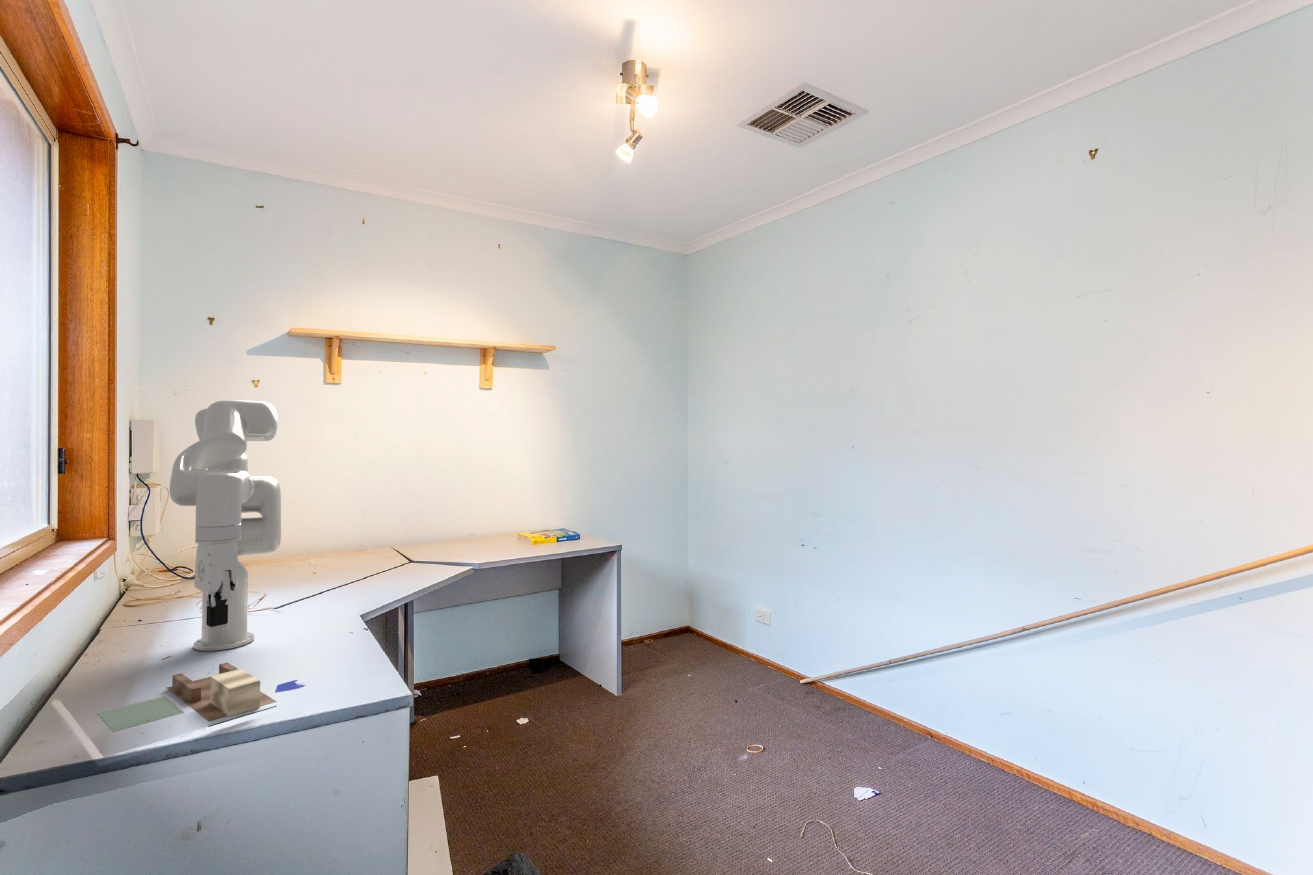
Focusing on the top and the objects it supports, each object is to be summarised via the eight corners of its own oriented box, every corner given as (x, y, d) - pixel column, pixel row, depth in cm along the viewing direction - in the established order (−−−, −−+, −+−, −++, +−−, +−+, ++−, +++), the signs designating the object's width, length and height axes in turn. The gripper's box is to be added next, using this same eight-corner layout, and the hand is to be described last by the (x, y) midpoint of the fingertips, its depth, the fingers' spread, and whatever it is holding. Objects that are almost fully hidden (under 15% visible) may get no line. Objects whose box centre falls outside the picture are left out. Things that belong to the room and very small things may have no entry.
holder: (166, 692, 125) (166, 675, 125) (229, 676, 134) (229, 660, 134) (208, 726, 110) (209, 707, 110) (276, 706, 119) (276, 688, 119)
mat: (96, 718, 113) (97, 713, 113) (164, 700, 121) (164, 695, 121) (113, 737, 106) (113, 731, 106) (184, 717, 114) (184, 712, 114)
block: (210, 702, 118) (210, 676, 118) (239, 694, 122) (240, 668, 122) (228, 716, 112) (229, 688, 112) (259, 707, 116) (260, 680, 116)
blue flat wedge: (318, 686, 126) (320, 667, 137) (272, 692, 123) (277, 672, 134) (318, 693, 126) (319, 674, 137) (271, 700, 122) (277, 680, 133)
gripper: (183, 532, 125) (182, 621, 125) (209, 540, 116) (207, 637, 116) (226, 528, 131) (225, 613, 131) (254, 535, 122) (252, 627, 122)
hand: (217, 624), depth 124 cm, fingers closed
